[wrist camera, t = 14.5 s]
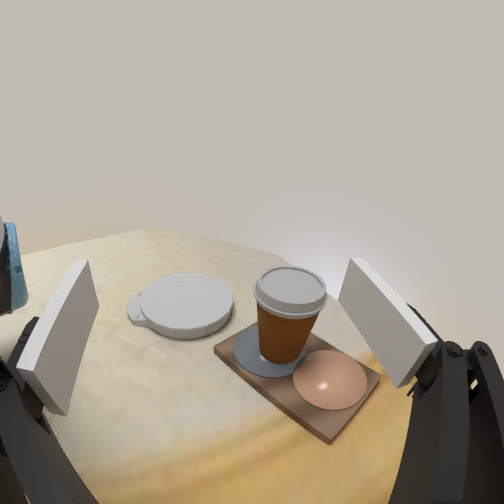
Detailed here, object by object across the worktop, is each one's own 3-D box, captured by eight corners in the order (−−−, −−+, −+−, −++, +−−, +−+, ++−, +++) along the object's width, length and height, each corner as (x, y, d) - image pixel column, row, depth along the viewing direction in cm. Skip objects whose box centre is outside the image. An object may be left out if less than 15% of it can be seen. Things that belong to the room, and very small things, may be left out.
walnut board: (213, 352, 40) (213, 345, 39) (275, 316, 49) (276, 310, 48) (328, 444, 26) (331, 439, 25) (378, 381, 35) (382, 375, 34)
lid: (132, 286, 54) (130, 274, 52) (224, 281, 59) (225, 269, 57) (122, 345, 39) (118, 331, 38) (242, 337, 44) (243, 324, 43)
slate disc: (218, 346, 39) (218, 344, 39) (268, 317, 46) (269, 315, 46) (271, 391, 32) (271, 389, 32) (319, 351, 39) (320, 349, 39)
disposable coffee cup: (305, 379, 34) (327, 313, 28) (239, 363, 36) (243, 295, 31) (314, 335, 42) (331, 271, 37) (258, 322, 44) (265, 258, 39)
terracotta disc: (276, 379, 34) (276, 377, 34) (322, 341, 41) (322, 340, 41) (339, 424, 27) (340, 423, 27) (378, 375, 34) (379, 374, 34)
